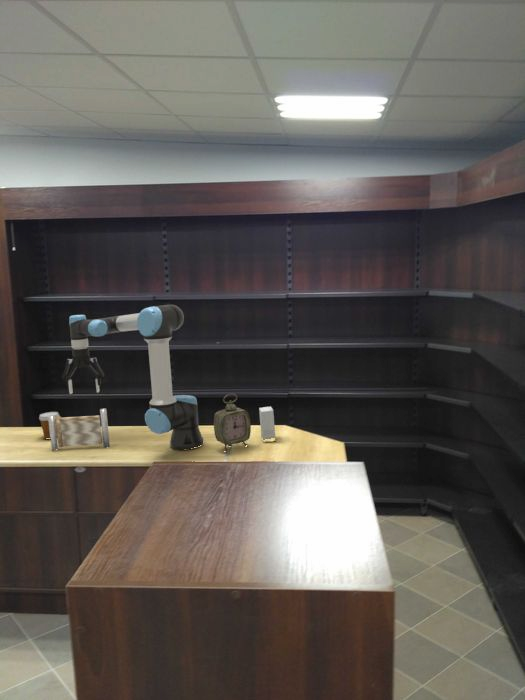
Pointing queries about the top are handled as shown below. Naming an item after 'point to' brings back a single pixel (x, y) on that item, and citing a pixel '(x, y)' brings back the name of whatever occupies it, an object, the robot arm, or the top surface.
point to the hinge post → (104, 427)
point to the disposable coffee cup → (47, 422)
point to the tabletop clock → (232, 424)
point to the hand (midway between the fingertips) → (84, 392)
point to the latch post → (53, 432)
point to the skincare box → (267, 423)
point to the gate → (78, 431)
